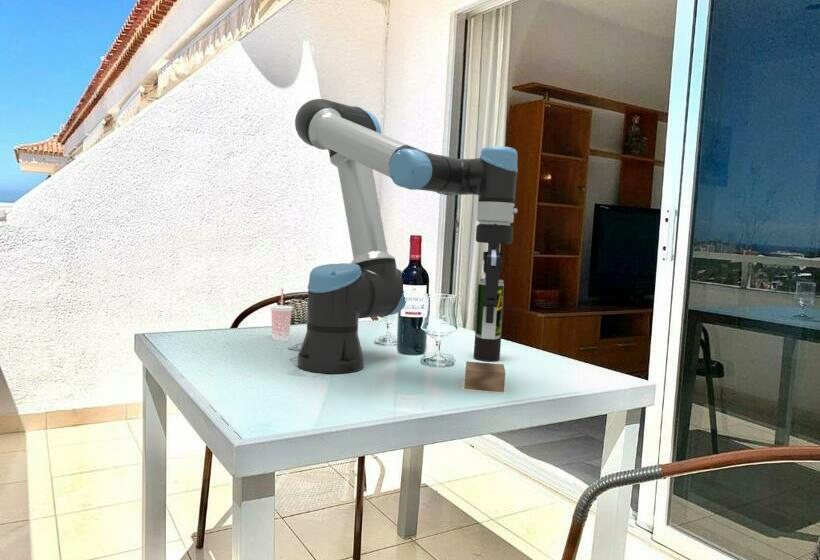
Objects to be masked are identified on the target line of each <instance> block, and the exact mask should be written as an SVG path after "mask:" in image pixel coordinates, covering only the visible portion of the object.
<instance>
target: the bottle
mask: <svg viewBox="0 0 820 560" xmlns="http://www.w3.org/2000/svg"><path fill="white" fill-rule="evenodd" d="M503 306H504V302H503ZM503 316H504V309H503V310H502V320H503ZM502 329H503V324H502V325H501V334H502V333H503V331H502ZM501 345H502V335H501V336H500V338H499V339H483V338H478V337H476V334H475V333H474V345H473V347H474V348H473V358H474V359H476V360H478V361H482V362H496V361H499V360H500V358H501V348H502V347H501Z"/></svg>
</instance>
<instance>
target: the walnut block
mask: <svg viewBox="0 0 820 560" xmlns="http://www.w3.org/2000/svg"><path fill="white" fill-rule="evenodd" d="M464 379H465V386H464V389H470V390H469V391H472V390H482V391H481V392H483V391H494V392H493V393H495V392H504V385H505V386H506V383H505V382H506V381H505V380H506V369H505V364H504V363H493V362H492V363H490V362H481V361H466V363H465V374H464Z"/></svg>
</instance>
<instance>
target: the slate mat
mask: <svg viewBox="0 0 820 560" xmlns="http://www.w3.org/2000/svg"><path fill="white" fill-rule="evenodd" d="M461 385H462V386H461V390H462V391H472V392H473V391H474V392H484V393H486V392H487V393H496V394H497V393H498V394H507V388H506V384H505V385H504V392H494V391H482V390H470V389H464V386H465V378H462V384H461Z"/></svg>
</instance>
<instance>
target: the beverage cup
mask: <svg viewBox="0 0 820 560" xmlns="http://www.w3.org/2000/svg"><path fill="white" fill-rule="evenodd" d="M280 292H281V293H280V304H279V305H278V304H275V305H270V311H271V312H270V313H271V314H270V315H271V339H272V340H275V341H287V340H289V338H290V329H291V320H292V311H293V310H294V309H293V306H291V305H283V304H284V288H281V291H280Z"/></svg>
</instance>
